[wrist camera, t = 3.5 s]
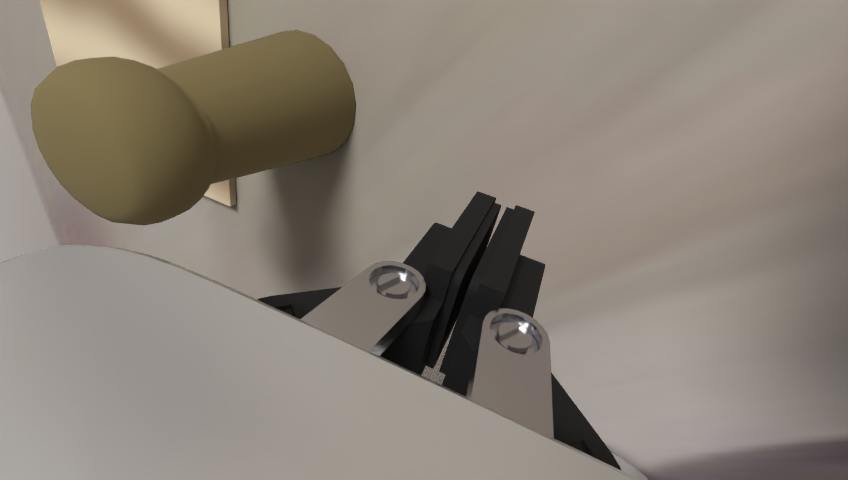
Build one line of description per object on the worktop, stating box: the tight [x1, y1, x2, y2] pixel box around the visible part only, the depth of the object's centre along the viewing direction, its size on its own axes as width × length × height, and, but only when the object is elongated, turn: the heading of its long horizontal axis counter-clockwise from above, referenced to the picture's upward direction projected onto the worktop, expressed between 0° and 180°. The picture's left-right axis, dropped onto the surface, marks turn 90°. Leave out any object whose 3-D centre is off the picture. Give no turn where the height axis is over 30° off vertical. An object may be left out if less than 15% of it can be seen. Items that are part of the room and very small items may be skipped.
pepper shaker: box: [31, 30, 356, 225], centre depth 16 cm, size 6×6×11 cm
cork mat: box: [40, 0, 236, 207], centre depth 22 cm, size 18×13×1 cm
